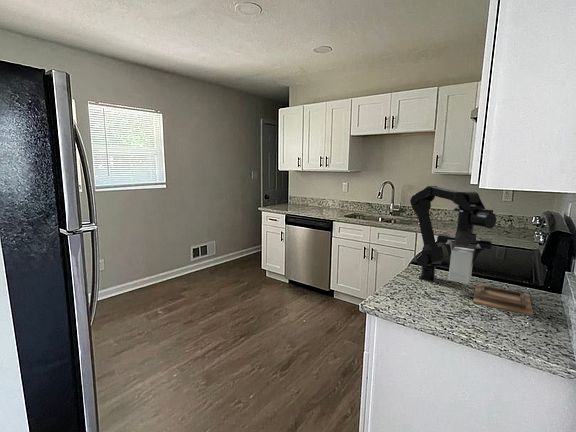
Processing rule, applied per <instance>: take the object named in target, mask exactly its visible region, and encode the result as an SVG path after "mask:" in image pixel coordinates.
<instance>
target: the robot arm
mask: <svg viewBox="0 0 576 432" xmlns="http://www.w3.org/2000/svg"><path fill="white" fill-rule="evenodd" d="M435 198H441V199H444V200H448V201H451V202H453V204H454V205H457V206H456V207H455V208H453V211H454V212H458V213H457V225H456V232H455V234H454V235H455V236H451V235H450V234H447V233H439V234H438V235H437V237H436V238H435V234H434V230H433V224H432V221H431V217H430V216H431V215H430V209H431V207H432V204H431V203H432V202H433V200H435ZM409 203H410V206H411V208H412V210H413V211H414V213H415V214H416V215H417V219H418V224H419V227H420V233H421V237H422V242H423V247H422V250H421V256H420V257H419V258H418V259H417V260H416V261H417V262H416V263H417V265H418V266H420V267H421V271H420V275H419V277H418V279H419V280H423V281H429V282H435V281H436V280H437V276H436V267H440V266H441V264H442V262H443V261H444V258H445V257H444V256H445V253H444V252H443V251H444V250H443V247H442V246H445V248H446V250H447V253H448V257H449V260H451V250H452V249H453V243H454V244H455V245H456V246H463V247H470V246H471V245H473V246H474V245H476V246H475V249H474V256H473V261H472V264H473V265H474V264H475V261H476V260H477V257H479V254H480V253H481V252H482V251H485V250H492V247H493V246H492V245H493V241H492V239H490V238H481V237H480V239H477V233H474V228H475V226H476V227H479V228H480V227H481V228H485V229H493V228H494V227H495V225H496V223H497V217H496V214H495V213H494V209H486V207H485V205H484V203H483V201H482V199H481V198H480V194H479V192H477V191H459V190H454V189H448V188H445V187H439V186H437V185H428V186H426V187H425V188H424V189H422V190H420V191H418V192H416V193H415V194H413V195H412V197H411V198H410V200H409ZM437 243H439V244H440V243H441V244H442V246H441V245H440V246H439V245H438V244H437Z"/></svg>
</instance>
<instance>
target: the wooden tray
mask: <svg viewBox="0 0 576 432" xmlns="http://www.w3.org/2000/svg"><path fill="white" fill-rule="evenodd" d="M472 299H473V300H472V304H477V305H481V306H485V307H490V308H495V309H499V310H504V311H509V312H513V313H518V314H523V315H528V316H532V317H534V310H533V306H532V303H531V298H530V294H528V293H524V292H521V291H516V290H515V291H514V290H510V289H505V288H498V287H495V286H488V285H482V284H481V285H480V284H476V285H475V289H474V293H473V298H472Z"/></svg>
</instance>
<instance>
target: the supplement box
mask: <svg viewBox="0 0 576 432" xmlns="http://www.w3.org/2000/svg"><path fill="white" fill-rule="evenodd" d="M474 253H475V249H474V248H473V249H472V248H466V247H460V246H459V247H458V246H454V247H452V250H451V260H450V259H449V260H450V262H449V270H448V279H447V280H448V281H452V282H456V283H461V284H466V285H469V283H470V281H471V279H472V273H473V272H472V271H473V265H474V264H472V261H473V257H474Z"/></svg>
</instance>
